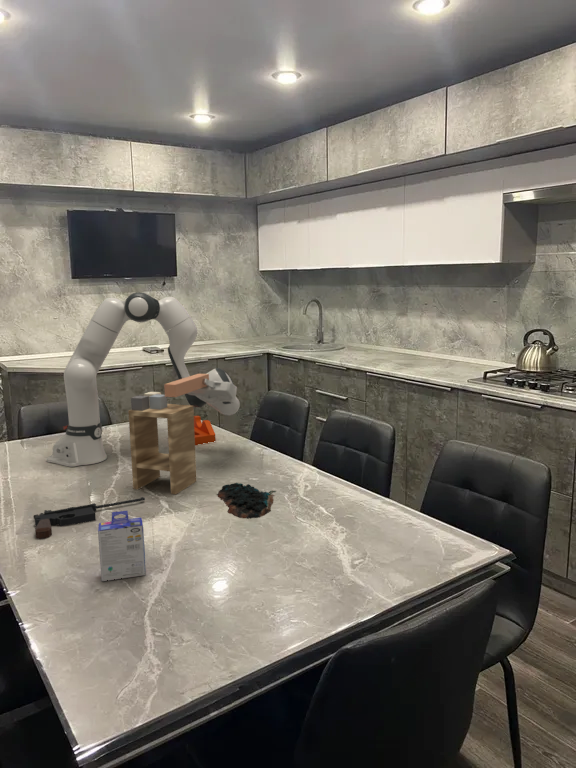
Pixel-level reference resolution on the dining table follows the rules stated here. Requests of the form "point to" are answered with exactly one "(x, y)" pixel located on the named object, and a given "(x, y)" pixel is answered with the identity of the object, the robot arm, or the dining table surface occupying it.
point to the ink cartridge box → (121, 547)
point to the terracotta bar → (185, 385)
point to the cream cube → (151, 394)
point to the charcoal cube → (140, 403)
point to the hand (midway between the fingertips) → (197, 380)
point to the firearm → (69, 517)
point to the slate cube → (158, 401)
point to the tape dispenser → (203, 431)
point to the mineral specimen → (246, 500)
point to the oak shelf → (147, 447)
